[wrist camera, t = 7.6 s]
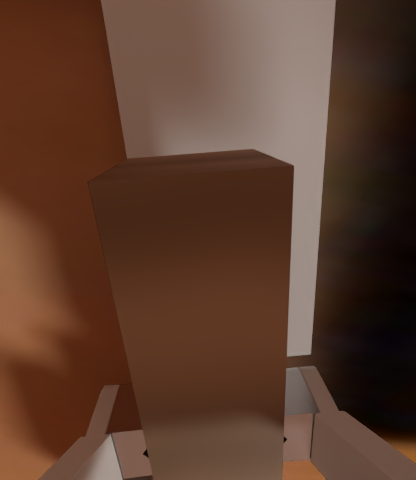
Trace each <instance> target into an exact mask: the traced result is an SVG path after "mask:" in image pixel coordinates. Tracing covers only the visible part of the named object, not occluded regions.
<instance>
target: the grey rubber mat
mask: <svg viewBox="0 0 416 480" xmlns="http://www.w3.org/2000/svg"><path fill="white" fill-rule="evenodd" d="M335 2H336V0H101V4H102V10H103V16H104V22H105V28H106V34H107V40H108V46H109V52H110V59H111V65H112V71H113V77H114V83H115V89H116V95H117V101H118V107H119V113H120V119H121V125H122V131H123V137H124V144H125V150H126V156H127V159H129V158H142V157H154V156H167V155H180V154H193V153H206V152H219V151H231V150H244V149H255V150H257V151H260V152H262V153H265V154H267V155H270V156H272V157H274V158H277V159H279V160H282V161H284V162H287V163H289V164H291V165H294V185H293V211H292V236H291V262H290V288H289V314H288V340H287V356H297V355H308V354H311V342H312V328H313V314H314V300H315V286H316V272H317V257H318V243H319V229H320V215H321V201H322V187H323V172H324V158H325V144H326V130H327V116H328V102H329V87H330V73H331V59H332V45H333V31H334V16H335Z"/></svg>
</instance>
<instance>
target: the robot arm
mask: <svg viewBox="0 0 416 480" xmlns="http://www.w3.org/2000/svg"><path fill="white" fill-rule="evenodd" d="M299 460H311V462H312V463H313V465H314V466H315V467H316V468H317V469H318V470H319V471H320V472H321V474H322V475H323V476H324V477H325V478H326V479H327V480H416V463H414V462H413V461H411V460H410V459H409V458H407V457H406V456H405V455H403V454H402V453H401V452H399V451H398V450H397V449H395V448H394V447H392V446H391V445H390V444H388V443H387V442H386V441H384V440H383V439H382V438H380V437H379V436H377V435H376V434H375V433H373V432H372V431H371V430H369V429H368V428H367V427H365V426H364V425H363V424H361V423H360V422H358V421H357V420H356V419H354V418H353V417H352V416H350V415H349V414H348V413H346V412H345V411H339V410H338V408H337V406H336V404H335V403H334V401H333V399H332V397H331V395H330V393H329V391H328V389H327V387H326V385H325V384H324V382H323V380H322V378H321V376H320V374H319V372H318V370H317V368H316V367H314V366H306V367H298V368H297V367H296V368H287V369H286V391H285V417H284V443H283V462H284V461H299ZM148 475H152V470H151V466H150V461H149V457H148V452H147V448H146V443H145V439H144V434H143V430H142V425H141V421H140V416H139V412H138V407H137V403H136V398H135V394H134V389H133V385H132V383H128V384H119V385H105V386H104V387H103V388H102V390H101V392H100V395H99V398H98V401H97V404H96V407H95V410H94V412H93V415H92V418H91V421H90V424H89V427H88V430H87V433H86V436H85V437H80V438H79V439H78V440H77V441H76V442H75V443H74V444H73V445H72V446H71V447H70V448H69V449H68V450H67V451H66V452H65V453H64V454H63V455H62V456H61V457H60V458H59V459H58V460H57V461H56V462H55V463H54V464H53V465H52V466H51V467H50V468H49V469H48V470H47V471H46V472H45V473H44V474H43V476H42V477H41V478H40V479H39V480H123V479H126V478H134V477H141V476H148Z"/></svg>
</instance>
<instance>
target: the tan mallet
mask: <svg viewBox="0 0 416 480" xmlns="http://www.w3.org/2000/svg"><path fill="white" fill-rule="evenodd" d="M293 185H294V165H291V164H289V163H287V162H284V161H282V160H279V159H277V158H274V157H272V156H270V155H267V154H265V153H262V152H260V151H257V150H255V149H244V150H231V151H219V152H206V153H193V154H180V155H167V156H154V157H142V158H129V159H126V160H125V161H123V162H121V163H120V164H118V165H116V166H114V167H113V168H111V169H109V170H108V171H106V172H104V173H102V174H101V175H99V176H97V177H96V178H94V179H92V180H90V181H89V182H88V187H89V191H90V196H91V200H92V205H93V209H94V214H95V218H96V223H97V227H98V232H99V236H100V241H101V245H102V250H103V254H104V259H105V263H106V268H107V272H108V277H109V281H110V286H111V290H112V295H113V299H114V304H115V308H116V313H117V317H118V322H119V326H120V331H121V335H122V340H123V344H124V349H125V353H126V358H127V362H128V367H129V371H130V376H131V380H132V385H133V389H134V394H135V398H136V403H137V407H138V412H139V416H140V421H141V425H142V430H143V434H144V439H145V443H146V448H147V452H148V457H149V461H150V466H151V470H152V475H153V479H154V480H282V468H283V443H284V417H285V391H286V365H287V340H288V314H289V288H290V262H291V236H292V211H293Z"/></svg>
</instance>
